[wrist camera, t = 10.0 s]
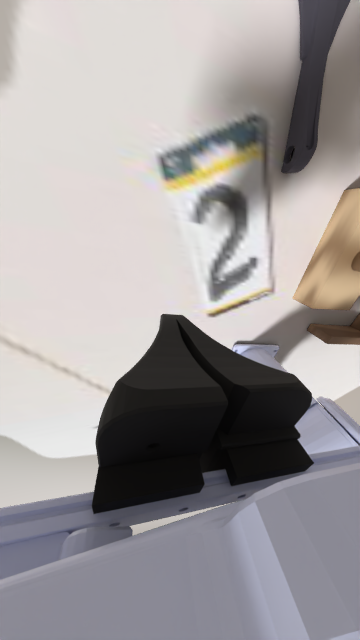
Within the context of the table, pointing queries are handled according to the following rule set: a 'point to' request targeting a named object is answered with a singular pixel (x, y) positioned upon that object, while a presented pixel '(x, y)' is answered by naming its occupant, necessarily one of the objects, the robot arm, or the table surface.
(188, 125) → the table surface
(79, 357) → the table surface
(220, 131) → the table surface
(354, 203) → the wooden box with knob
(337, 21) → the bracket
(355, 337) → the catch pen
